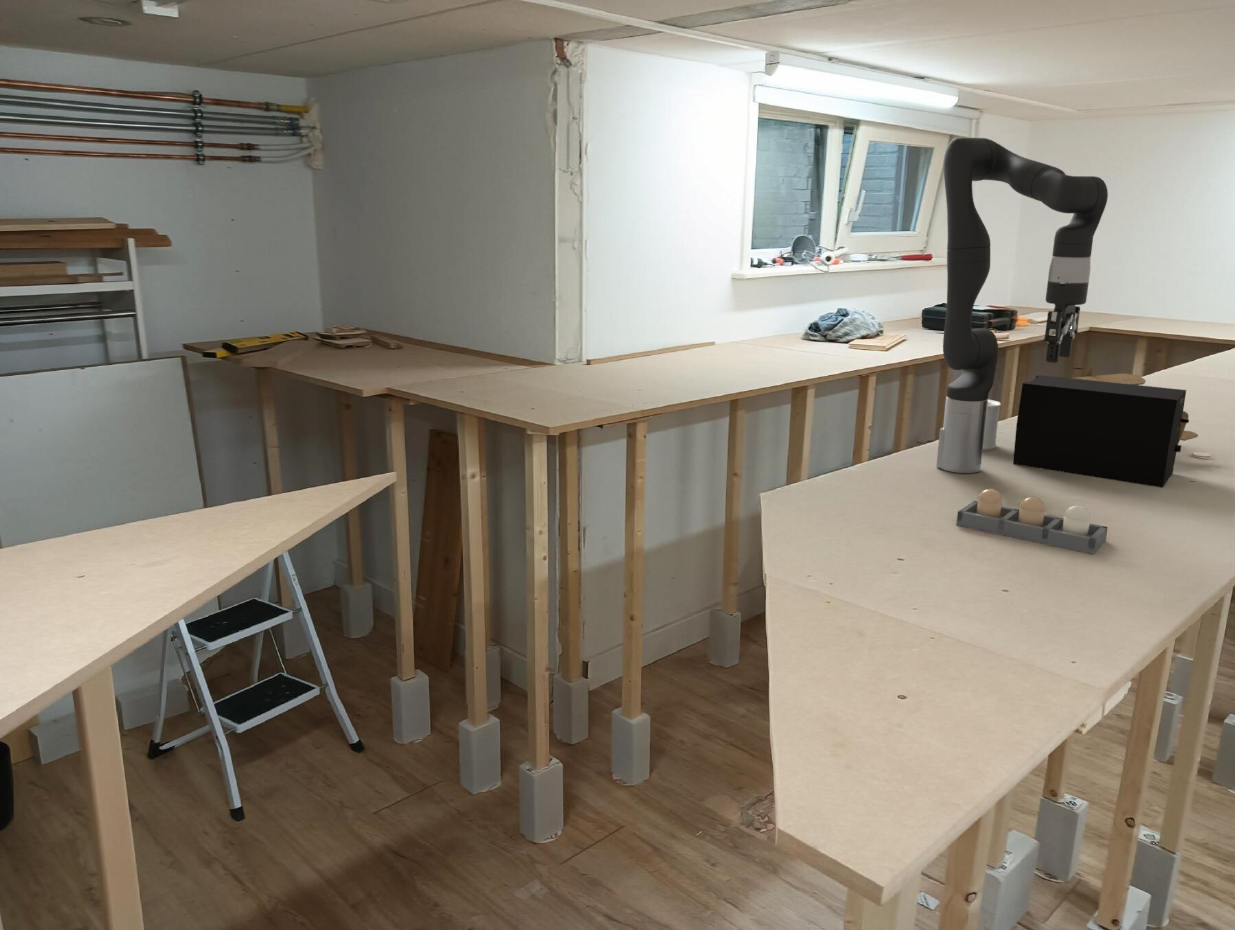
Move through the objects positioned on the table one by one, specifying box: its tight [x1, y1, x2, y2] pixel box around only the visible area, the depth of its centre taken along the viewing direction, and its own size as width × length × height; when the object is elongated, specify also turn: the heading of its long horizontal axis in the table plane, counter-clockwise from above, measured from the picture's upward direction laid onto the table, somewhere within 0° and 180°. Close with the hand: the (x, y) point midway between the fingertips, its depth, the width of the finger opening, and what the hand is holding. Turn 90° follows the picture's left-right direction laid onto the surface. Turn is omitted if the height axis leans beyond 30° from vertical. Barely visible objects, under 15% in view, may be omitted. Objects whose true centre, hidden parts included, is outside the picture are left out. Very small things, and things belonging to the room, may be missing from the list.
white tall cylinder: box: [983, 399, 1002, 451], centre depth 244 cm, size 10×9×20 cm
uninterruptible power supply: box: [1012, 374, 1190, 488], centre depth 222 cm, size 16×34×20 cm, turn 53°
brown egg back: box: [977, 488, 1003, 518], centre depth 186 cm, size 4×4×6 cm
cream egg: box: [1062, 504, 1092, 537], centre depth 176 cm, size 4×4×6 cm
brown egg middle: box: [1018, 496, 1046, 527], centre depth 181 cm, size 4×4×6 cm
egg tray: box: [956, 500, 1109, 555], centre depth 181 cm, size 25×9×3 cm, turn 50°
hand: (1058, 359), depth 194 cm, fingers open, 8 cm apart
